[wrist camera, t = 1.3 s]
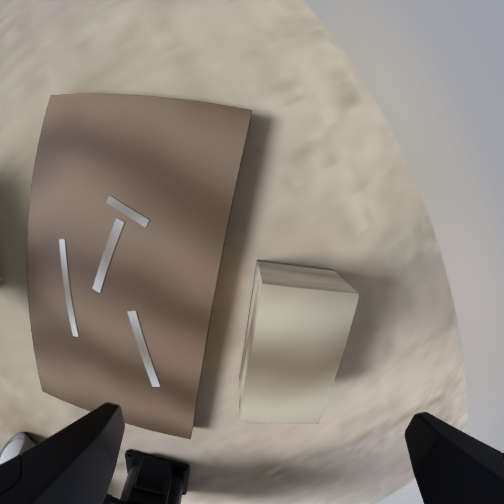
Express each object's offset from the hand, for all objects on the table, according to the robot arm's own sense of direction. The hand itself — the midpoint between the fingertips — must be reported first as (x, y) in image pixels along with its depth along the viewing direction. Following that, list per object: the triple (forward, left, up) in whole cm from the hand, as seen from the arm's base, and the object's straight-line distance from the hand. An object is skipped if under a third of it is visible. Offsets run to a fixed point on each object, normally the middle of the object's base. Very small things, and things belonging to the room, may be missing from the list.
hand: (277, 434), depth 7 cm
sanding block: (-2, -2, -12) cm, 13 cm away
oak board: (-1, +10, -12) cm, 16 cm away
